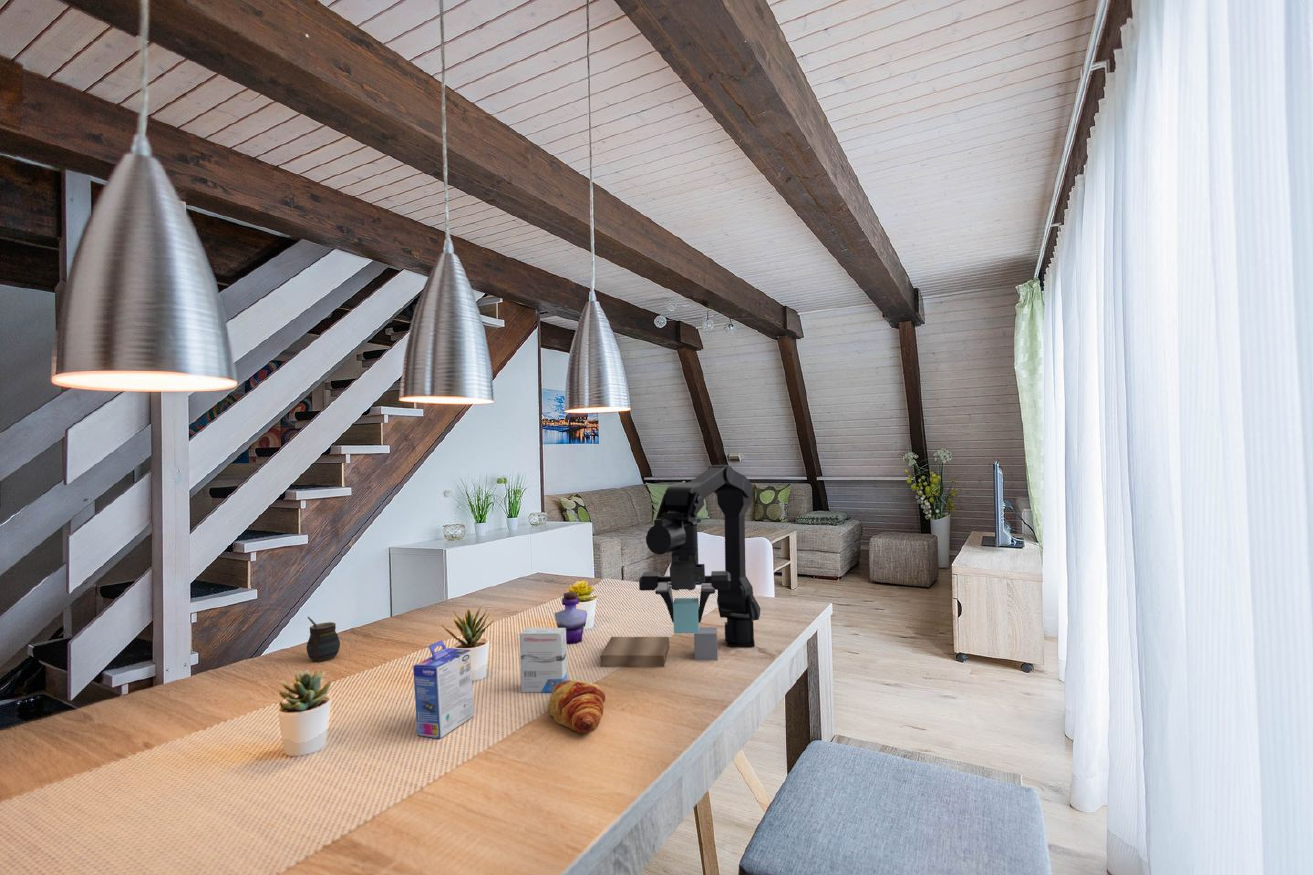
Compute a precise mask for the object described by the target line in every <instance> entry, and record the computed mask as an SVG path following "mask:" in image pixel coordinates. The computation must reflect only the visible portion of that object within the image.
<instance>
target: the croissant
mask: <svg viewBox="0 0 1313 875" xmlns="http://www.w3.org/2000/svg"><path fill="white" fill-rule="evenodd" d="M605 701H606V695H605V692H604V690H602V688H600V686H598V685H597V684H595V683H591V682H588V681H584V680H571V679H567V680H566V681H563V682H559V683H558V684H557V685H556V687H554V689H553V692H551V696H550V699H549V702H548V705H547V706H548V707H547V712H548V715H549V716H552V717H553V719H554V721H555V722H556V723H558V724H559V725H562V726H564V727H567V728H569V729H571V730H573V731H574V732H577V733H579V734H580V733H581V734H585V733H589V732H592V731H593V730H594V729H595V728H597V727H599V724H600V723H601V718H602V717H603V714H604V710H605V709H604V708H605V706H604V704H605Z"/></svg>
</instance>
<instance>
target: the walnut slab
mask: <svg viewBox="0 0 1313 875" xmlns="http://www.w3.org/2000/svg"><path fill="white" fill-rule="evenodd" d="M669 650H670V636H611V637H610V639H609V640H608V641H607V643H606V645H605V647H604V649H603V650H602V652H601V653H600V656H599V657H600V667H601V668H602V667H603V668H665V664H666V661H667V658H668V655H669Z"/></svg>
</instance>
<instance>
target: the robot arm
mask: <svg viewBox="0 0 1313 875" xmlns="http://www.w3.org/2000/svg"><path fill="white" fill-rule="evenodd" d="M753 493H754V488H753V484H752V482H750V480H749V478H747V476H745V475H743V474H741V473H739V471H736V470H734V468H733V467H732V466H731V465H728V464H713V465H711V466H709V467H708V468H707V470H705V471H704V472H702V473H700V474H699V475H697V476H696V477H695V478H693V479H691V480H690V481H688V482H687V483H679V484H674V485H670V486H669V487H667V488H666V489H665V492H664V493H663V496H662V499H661V502H660V505H659V508H658V511H657V513H656V518H655V519H654V521H653V523H654V524H653V526H651V527H650V528H649V529H648V531H647V533H646V536H645V543H646V546H647V548H648V550H650V551H651V552H652V553H653V554H654V555H658V556H659V555H660V556H661V555H664V554H668V553H670V567H669V575H662V576H661V572H660V571H644V572H643V573H642V574H641V576H640V577H639V580H638V587H639V589H638V590H639V591H644V592H645V591H654V592H655V593H654V594H656V595H659V596H661V598H662V599H663V601H664V603H665V606H666V608H667V610H668V614H669V616H670V619H671V622H672V623H673V624H674V617H673V602H674V597H673V591H679V590H688V591H693V590H695V589H696V586H701V587H700V596H699V613H698V619H699V624H700V623H701V621H702V619H703V614H704V610H705V607H706V604H707V601H708V599H709V597H710V595H713V594H716V590H717V598H716V605H717V609H718V613H719V618H720V619H721V618H724V619H725V618H726V621H725V622H724V642H725V643H726V646H727V647H735V648H737V647H739V648H740V647H742V648H743V647H745V648H746V647H749V648H750V647H751V648H752V647H753V648H754V647H756V643H755V642H756V641H755V633H754V632H755V631H754V630H755V629H754V621H758V620H760V617H761V606H760V605H759V603H758V601H757V600H756V598H755V596H754V590H753V589H754V588H753V585H752V584H751V583H750V580H749V578H748V577H747V575H746V572H747V571H746V570H747V569H746V528H745V527H746V526H745V525H746V522H745V518H746V517H745V516H746V514H747V512H748V510H749V508H751V505H752V497H753ZM711 494H714V495H716V502H717V505H718V507H719V509H720V511H721V512H722V514H723V516H724V520H723V522H724V570H712V571H710V572H711V575H706V571H705V569H706V568H705V566H706V565H705V564H704V563H699V542H698V540H699V539H698V538H699V537H698V536H699V535H698V524H700V523H701V522H702V519H701V518H700V517H699V516H698V513H699V512H700V511H701V510H702V509H703V507H704V506H705V501H704V500H705V499H706V498H707V497H709V496H710V495H711Z"/></svg>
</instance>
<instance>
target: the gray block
mask: <svg viewBox="0 0 1313 875" xmlns="http://www.w3.org/2000/svg"><path fill="white" fill-rule="evenodd" d="M693 637H694V638H693V639H694V645H693V646H694V661H718V651H719V650H718V627H713V626H712V627H705V626H704V627H700V626H699V633H693Z"/></svg>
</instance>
